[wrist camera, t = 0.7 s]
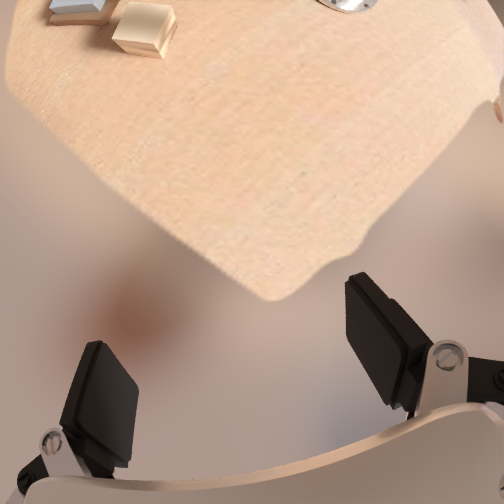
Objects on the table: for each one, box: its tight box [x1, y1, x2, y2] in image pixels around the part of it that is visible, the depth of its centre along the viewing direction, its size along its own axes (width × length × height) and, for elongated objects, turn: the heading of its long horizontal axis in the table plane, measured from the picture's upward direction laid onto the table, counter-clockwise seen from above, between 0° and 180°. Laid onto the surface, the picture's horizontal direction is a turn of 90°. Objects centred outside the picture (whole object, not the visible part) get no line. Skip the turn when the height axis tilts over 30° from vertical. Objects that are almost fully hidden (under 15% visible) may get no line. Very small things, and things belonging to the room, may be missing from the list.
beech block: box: [112, 2, 177, 59], centre depth 22 cm, size 5×5×7 cm
